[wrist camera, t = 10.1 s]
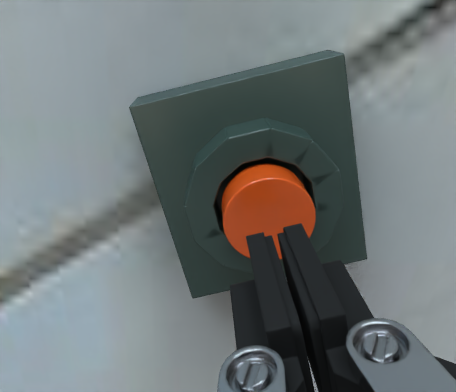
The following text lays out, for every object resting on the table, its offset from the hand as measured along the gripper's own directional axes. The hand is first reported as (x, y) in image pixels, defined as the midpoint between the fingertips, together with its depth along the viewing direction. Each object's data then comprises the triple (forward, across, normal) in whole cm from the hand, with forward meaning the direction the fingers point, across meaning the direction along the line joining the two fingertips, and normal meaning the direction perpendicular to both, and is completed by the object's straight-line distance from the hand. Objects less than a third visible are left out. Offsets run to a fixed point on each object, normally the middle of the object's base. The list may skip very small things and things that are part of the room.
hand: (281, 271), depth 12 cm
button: (+5, 0, 0) cm, 6 cm away
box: (+9, 0, 0) cm, 9 cm away
